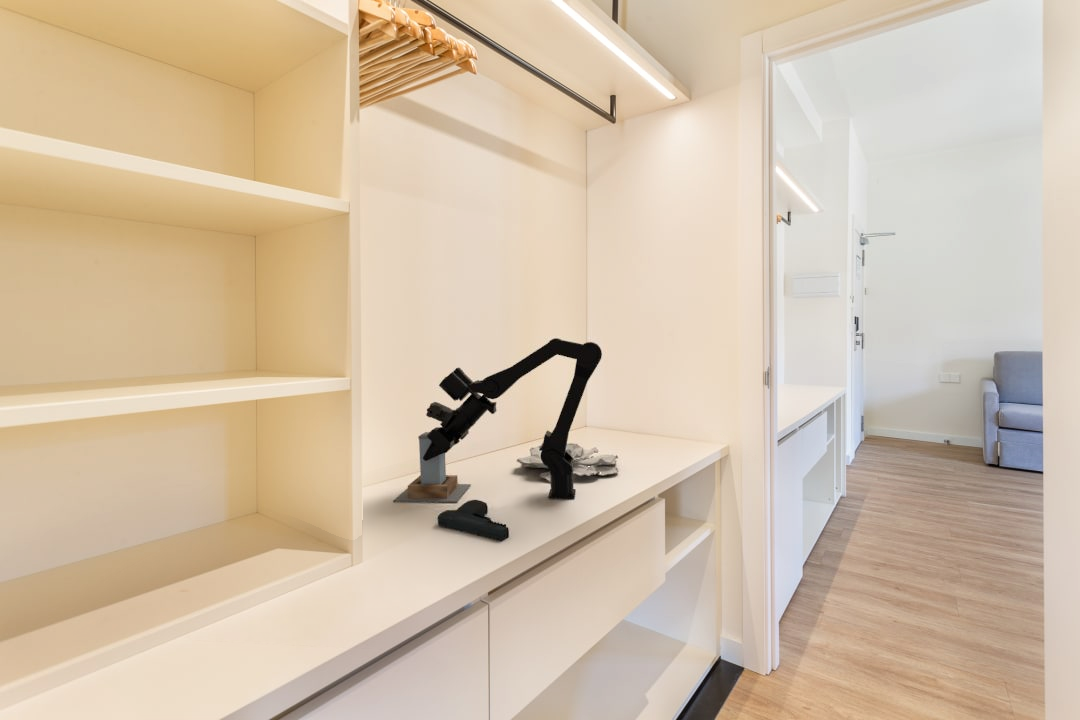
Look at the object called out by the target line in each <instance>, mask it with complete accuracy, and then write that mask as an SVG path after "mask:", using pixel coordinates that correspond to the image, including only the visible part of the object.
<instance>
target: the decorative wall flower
mask: <svg viewBox="0 0 1080 720" xmlns="http://www.w3.org/2000/svg"><path fill="white" fill-rule="evenodd" d="M540 447H541V445H539V446H536V447H531V448H530V449H529V452H530V453H529V454H530V455H529V456H524V457H520V458H517V459H516V462H517V463H519V464H522V467H524V468H532V469H540V468H546V469H549V468H548V467H547V466H546V465H545V464H544V463H543V462H542V460H541V452H542V450H541V451H539V449H540ZM566 452H567V453H569V454H570V455H571V456H572V457H573V458H574V462H573V467H572V470H573V479H574V478H575V475H577V476H580V477H582V476H588V477H590V476H593V475H595V476H608V475H615V474H617V473H619V470H618V467H616V466H615V467H614V466H613V465H616V464H617V460H616V459H619V456H618V455H614V454H602V455H600V454H599V455H595V456H593V455H594V453H597V454H598V453H599V450H598V449H597V447H593V448H591V449H588V450H587V449H585V448H584V447H582V446H581V445H579V444H578V443H567V446H566ZM588 457H589V458H588ZM586 458H587V459H586ZM588 466H590V467H588ZM600 472H601V474H600ZM596 474H597V475H596ZM539 478H542V479H544V480H547V481H548V482H550V471H546V472H542V473H540V474H539Z"/></svg>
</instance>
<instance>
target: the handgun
mask: <svg viewBox="0 0 1080 720" xmlns="http://www.w3.org/2000/svg"><path fill="white" fill-rule="evenodd" d="M488 511H489V508H488V504H487V502H485V501H483V500H479V499H471V500H468V501H465V502H464V503H462V504H461V505H460V506H459V507H458V508H457V509H450V510H449V509H447V510H445V511H441V512H440V513H439V514H438V515H437V525H438V526H439V527H443V528H446V529H451V530H453V529H455V530H454V531H458V530H459V532H462V531H464V533H468V534H469V533H470V534H472V535H476V536H478V537H481V538H482V537H483V538H486V539H491V540H494V541H495V540H496V541H498V542H504V541H505V540H507V539H508V538H510V533H509V531H510V529H509V527H508V526H507V524H504V523H500V522H496V521H493V520H492V519H491V518H490V517H489V516H486V515H488Z"/></svg>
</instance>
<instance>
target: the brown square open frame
mask: <svg viewBox="0 0 1080 720" xmlns="http://www.w3.org/2000/svg"><path fill="white" fill-rule="evenodd" d="M458 482H459V480H458V475H457V474H456V475H453V474H452V475H451V474H449V475H447V474H446V480H445V481H444V482H443V483H442V484H421V474H420V475H419V476H418V477H417V478H415V479H414V480H413V481H411V482H410V483H408V485H407V488H408V498H448V497H449V496H450V495H451V494H452V492H453V491H454V490H455V489H456V488H457V487H458V484H459V483H458Z"/></svg>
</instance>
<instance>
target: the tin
mask: <svg viewBox="0 0 1080 720" xmlns="http://www.w3.org/2000/svg"><path fill="white" fill-rule="evenodd" d="M429 432H430V431H425V432H424V433H421V434H420V435H418V445H419V446H418V447H419V469H420V471H419V472H420V475H421V484H442V483H443V482H444V481H445V480H446V475H447V469H446V453H443V454H441V455H438V456H436V457H434V458H432V459H429V460H427V461H425V460H424V459H423V457H424V455H425V453H426V451H427V449H428V448H429V446H430V444H431V440H430V439H429V438H428V437H427V435H428V434H429Z"/></svg>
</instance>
